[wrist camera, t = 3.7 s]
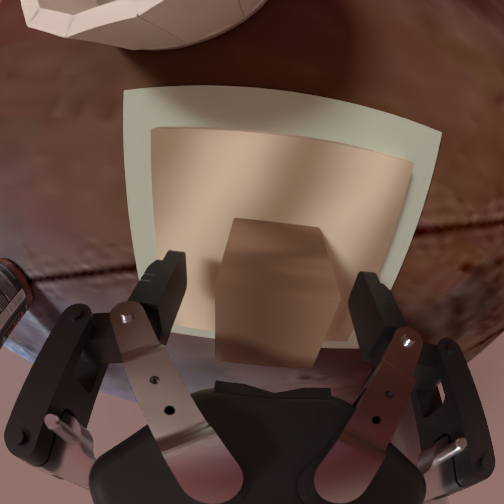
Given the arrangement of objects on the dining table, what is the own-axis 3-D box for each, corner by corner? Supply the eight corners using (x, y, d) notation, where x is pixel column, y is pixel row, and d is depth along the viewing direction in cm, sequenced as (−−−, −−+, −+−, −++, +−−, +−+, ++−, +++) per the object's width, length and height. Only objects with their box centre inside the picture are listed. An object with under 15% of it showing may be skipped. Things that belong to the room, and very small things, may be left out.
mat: (437, 131, 11) (441, 132, 10) (358, 343, 19) (360, 348, 19) (128, 90, 11) (123, 90, 10) (151, 323, 19) (149, 327, 19)
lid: (404, 158, 11) (478, 205, 6) (344, 330, 18) (360, 405, 12) (159, 126, 11) (84, 154, 6) (171, 313, 18) (145, 387, 13)
